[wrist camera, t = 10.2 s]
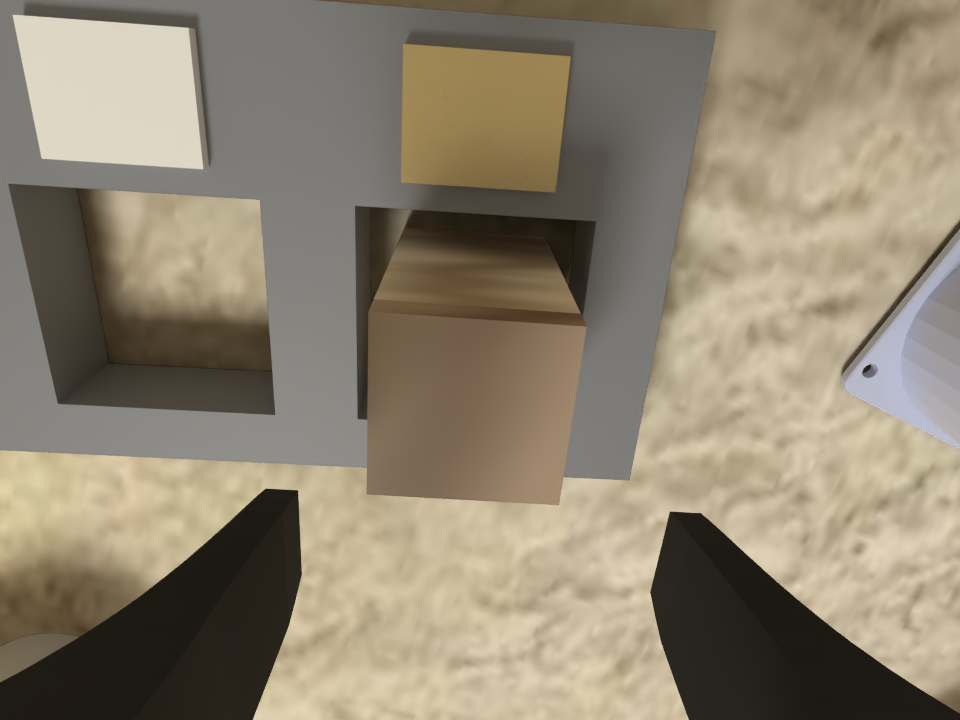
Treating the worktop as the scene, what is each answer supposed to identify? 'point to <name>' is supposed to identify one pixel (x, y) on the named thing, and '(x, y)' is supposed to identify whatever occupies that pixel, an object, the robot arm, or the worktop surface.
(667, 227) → the socket board
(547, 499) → the plug
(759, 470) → the worktop surface
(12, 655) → the lumpy-topped squat cylinder
